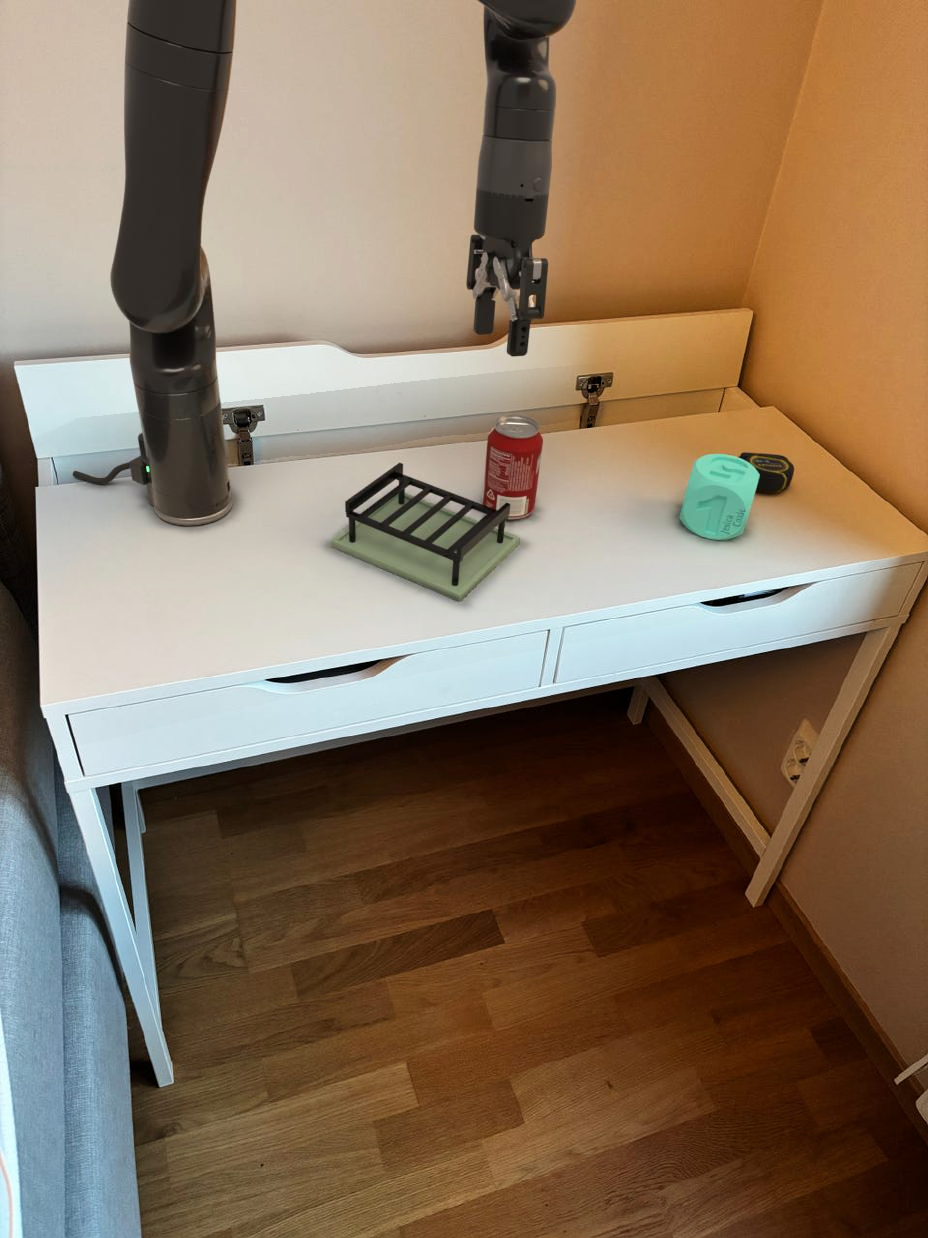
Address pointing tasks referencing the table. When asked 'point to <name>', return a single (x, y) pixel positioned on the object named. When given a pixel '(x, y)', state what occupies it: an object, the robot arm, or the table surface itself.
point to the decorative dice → (719, 496)
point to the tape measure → (771, 471)
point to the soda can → (512, 465)
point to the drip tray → (420, 561)
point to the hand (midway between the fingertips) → (499, 344)
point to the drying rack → (425, 516)
